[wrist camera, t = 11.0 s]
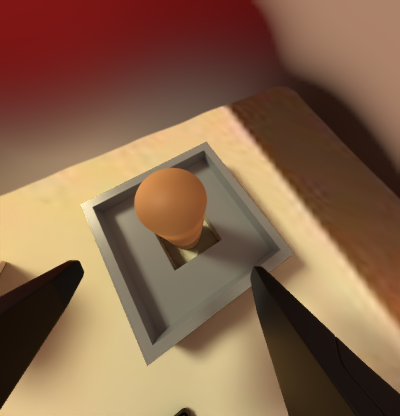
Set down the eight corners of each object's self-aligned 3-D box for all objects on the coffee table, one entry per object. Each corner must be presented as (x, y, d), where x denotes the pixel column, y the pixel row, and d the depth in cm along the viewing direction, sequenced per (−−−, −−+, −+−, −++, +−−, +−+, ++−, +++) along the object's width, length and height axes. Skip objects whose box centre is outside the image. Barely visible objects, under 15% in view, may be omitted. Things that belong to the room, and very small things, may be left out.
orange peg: (206, 230, 21) (220, 190, 9) (189, 255, 20) (178, 250, 7) (182, 215, 22) (164, 156, 9) (165, 238, 20) (118, 208, 8)
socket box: (273, 254, 20) (294, 253, 16) (159, 338, 17) (147, 365, 13) (204, 162, 24) (206, 141, 20) (103, 215, 21) (80, 204, 17)
